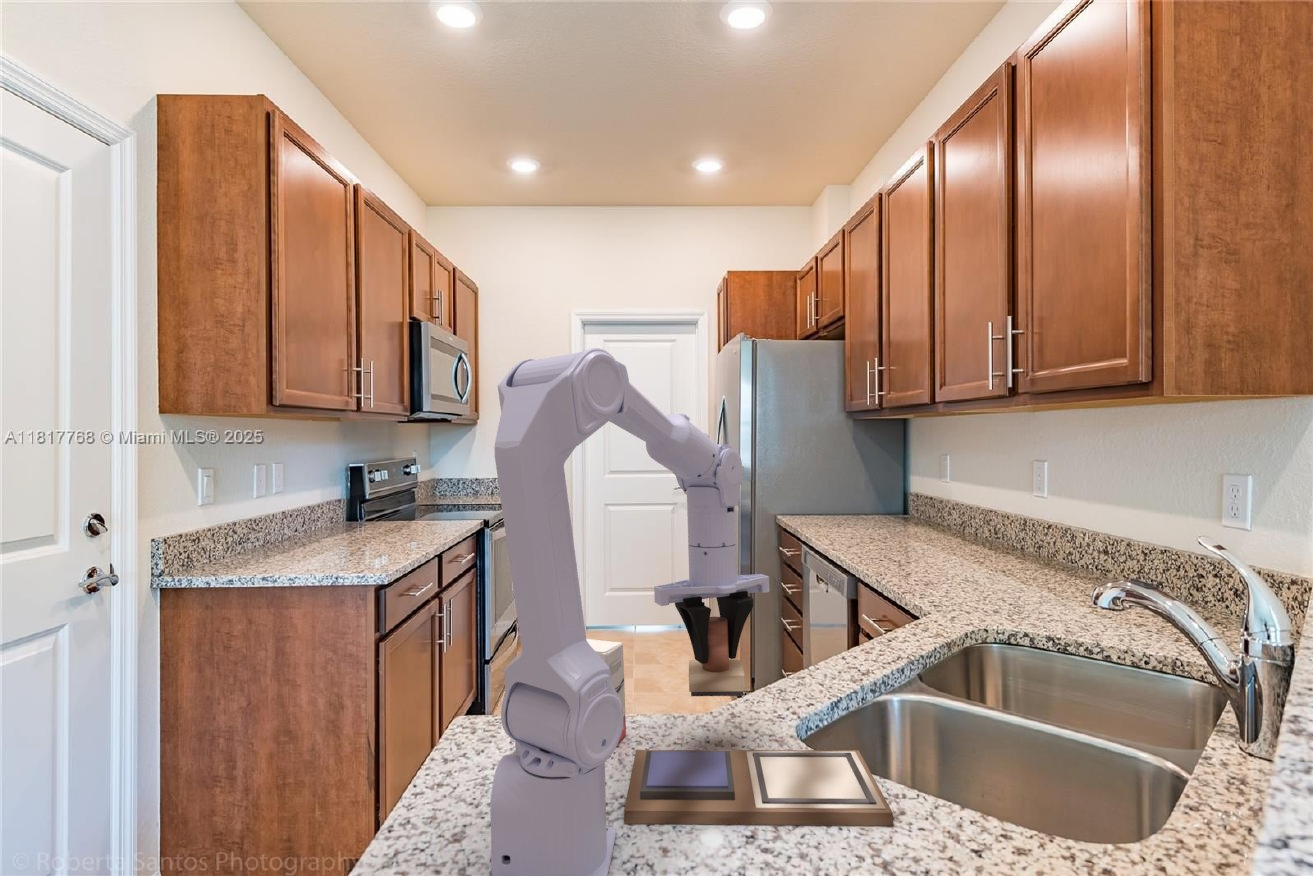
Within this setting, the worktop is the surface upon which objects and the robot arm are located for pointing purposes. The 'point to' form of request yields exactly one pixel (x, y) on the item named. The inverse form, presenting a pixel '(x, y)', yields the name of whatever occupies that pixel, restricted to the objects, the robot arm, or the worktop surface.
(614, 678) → the ink box
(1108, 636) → the worktop surface
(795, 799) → the desk board
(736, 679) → the stamp
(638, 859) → the worktop surface
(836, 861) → the worktop surface
